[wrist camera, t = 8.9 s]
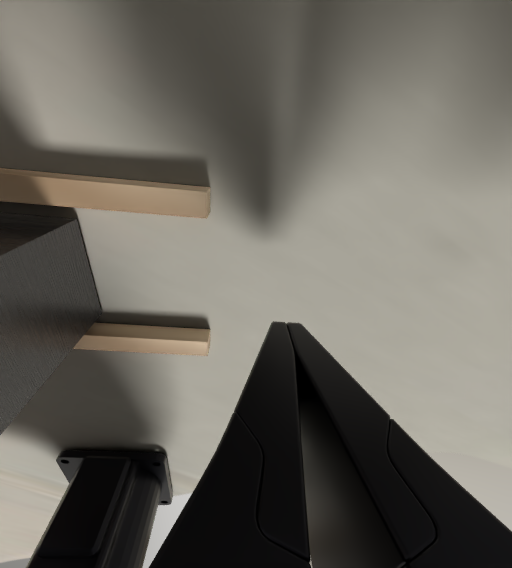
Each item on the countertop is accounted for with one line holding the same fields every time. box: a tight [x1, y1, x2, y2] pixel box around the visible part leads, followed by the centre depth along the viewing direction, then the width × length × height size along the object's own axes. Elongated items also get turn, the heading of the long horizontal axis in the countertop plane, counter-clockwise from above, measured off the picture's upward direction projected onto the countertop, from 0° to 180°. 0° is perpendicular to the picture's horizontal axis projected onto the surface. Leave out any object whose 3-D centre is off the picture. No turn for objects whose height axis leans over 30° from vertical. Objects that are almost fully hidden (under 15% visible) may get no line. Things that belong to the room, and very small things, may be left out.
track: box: [0, 168, 210, 356], centre depth 9 cm, size 7×12×1 cm, turn 85°
